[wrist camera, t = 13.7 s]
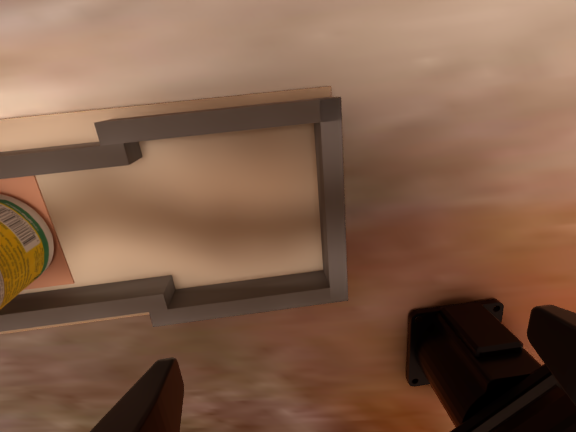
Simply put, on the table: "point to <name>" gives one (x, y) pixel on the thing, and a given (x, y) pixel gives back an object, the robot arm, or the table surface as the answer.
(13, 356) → the table surface
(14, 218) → the supplement bottle
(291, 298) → the grey flat frame
